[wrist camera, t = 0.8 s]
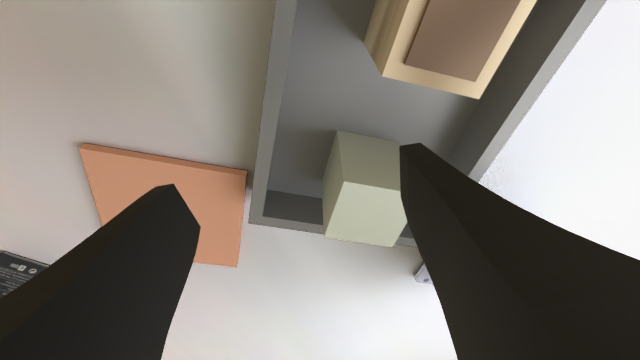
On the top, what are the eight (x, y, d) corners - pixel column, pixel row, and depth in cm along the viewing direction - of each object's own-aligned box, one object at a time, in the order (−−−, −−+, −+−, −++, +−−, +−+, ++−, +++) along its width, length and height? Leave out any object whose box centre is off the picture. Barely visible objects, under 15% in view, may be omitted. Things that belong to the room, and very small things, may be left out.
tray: (593, -68, 13) (657, -72, 10) (418, 218, 23) (430, 249, 21) (303, -172, 11) (301, -206, 8) (255, 192, 21) (248, 223, 19)
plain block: (399, 142, 18) (423, 195, 14) (377, 190, 21) (392, 247, 17) (337, 130, 18) (344, 181, 14) (321, 181, 20) (323, 237, 16)
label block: (478, -31, 13) (553, -22, 9) (436, 61, 15) (480, 100, 11) (393, -58, 12) (432, -61, 8) (363, 42, 15) (382, 77, 11)
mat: (247, 171, 20) (245, 176, 20) (237, 261, 26) (236, 267, 25) (84, 143, 18) (78, 148, 18) (114, 246, 24) (110, 252, 24)
